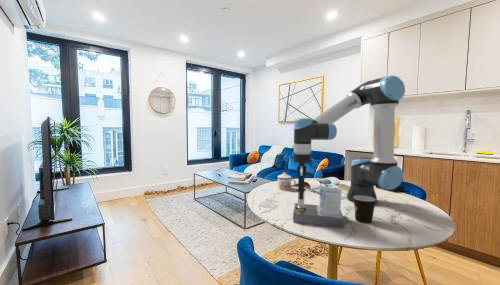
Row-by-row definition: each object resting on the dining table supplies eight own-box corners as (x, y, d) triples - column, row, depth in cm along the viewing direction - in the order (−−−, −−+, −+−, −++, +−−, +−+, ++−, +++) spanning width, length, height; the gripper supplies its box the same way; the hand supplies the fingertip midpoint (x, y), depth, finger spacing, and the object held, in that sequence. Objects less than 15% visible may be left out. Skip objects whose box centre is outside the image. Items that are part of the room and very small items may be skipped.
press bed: (339, 215, 105) (339, 206, 104) (343, 228, 91) (343, 217, 91) (295, 211, 110) (295, 202, 109) (293, 222, 96) (293, 212, 96)
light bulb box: (318, 206, 104) (319, 183, 104) (333, 206, 104) (334, 183, 103) (324, 214, 94) (325, 189, 93) (341, 215, 93) (341, 189, 93)
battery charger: (375, 189, 154) (375, 183, 154) (384, 187, 158) (384, 182, 158) (394, 194, 142) (394, 187, 142) (403, 192, 147) (404, 186, 146)
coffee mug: (374, 226, 93) (374, 202, 92) (351, 222, 97) (352, 199, 97) (375, 217, 103) (376, 195, 102) (354, 213, 107) (355, 192, 107)
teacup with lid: (279, 192, 143) (279, 174, 142) (275, 188, 152) (276, 171, 151) (297, 192, 144) (298, 173, 143) (293, 188, 153) (293, 171, 152)
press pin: (305, 213, 103) (305, 205, 103) (304, 216, 100) (305, 207, 100) (297, 213, 104) (297, 204, 104) (296, 215, 101) (296, 207, 100)
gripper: (294, 151, 108) (293, 200, 109) (292, 154, 95) (291, 209, 96) (310, 152, 106) (309, 201, 107) (311, 155, 93) (309, 211, 95)
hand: (301, 205), depth 102 cm, fingers closed
